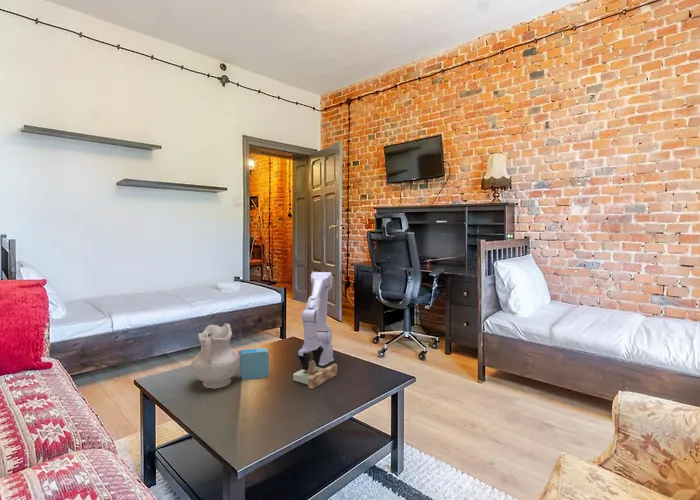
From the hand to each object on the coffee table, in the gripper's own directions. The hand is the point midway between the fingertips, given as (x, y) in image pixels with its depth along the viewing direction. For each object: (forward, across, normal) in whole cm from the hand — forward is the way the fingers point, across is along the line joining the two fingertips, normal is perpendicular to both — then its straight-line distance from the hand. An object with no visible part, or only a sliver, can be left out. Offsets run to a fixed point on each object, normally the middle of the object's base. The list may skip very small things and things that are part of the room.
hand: (311, 367), depth 166 cm
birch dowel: (+5, 0, 0) cm, 5 cm away
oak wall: (+5, -1, +6) cm, 8 cm away
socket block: (+5, 0, 0) cm, 5 cm away
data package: (+5, +12, -22) cm, 26 cm away
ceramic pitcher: (+5, +26, -30) cm, 40 cm away
